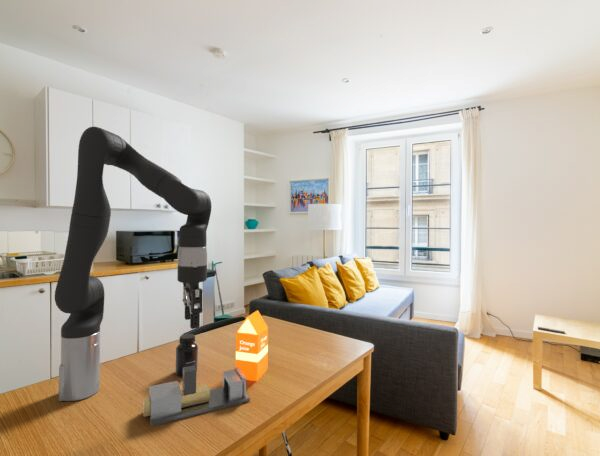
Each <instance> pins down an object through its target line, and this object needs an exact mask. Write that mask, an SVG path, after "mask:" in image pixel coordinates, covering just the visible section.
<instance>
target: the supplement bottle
mask: <svg viewBox="0 0 600 456" xmlns="http://www.w3.org/2000/svg"><path fill="white" fill-rule="evenodd" d="M178 342H179V344H177V346H176V347H175V366H174V368H175V375H176V376H178V377H182V378H183V368H184V367H189V366H195V368H196V373H197V372H198V359H199V358H198V357H199V356H198V354H199V351H198V350H199V347H198V344H197V343H196V336H195V334H191V333H185V334H181V335H180V336H179V341H178Z"/></svg>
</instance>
